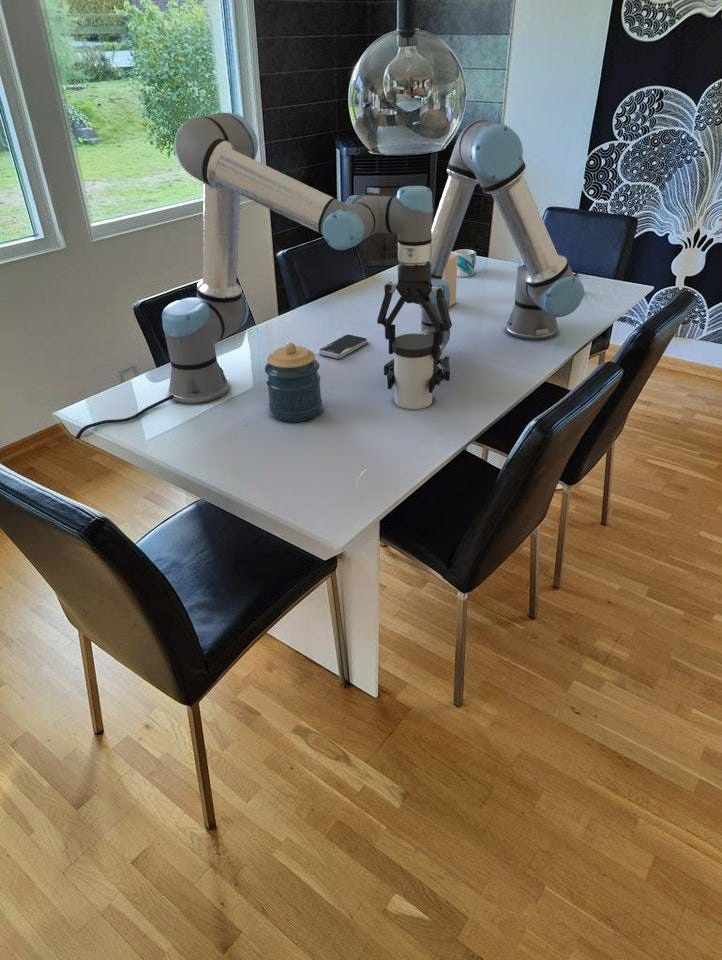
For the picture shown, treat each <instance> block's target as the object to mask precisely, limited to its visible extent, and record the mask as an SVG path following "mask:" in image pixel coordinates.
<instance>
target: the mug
mask: <svg viewBox="0 0 722 960" xmlns="http://www.w3.org/2000/svg"><path fill="white" fill-rule="evenodd" d="M453 254H456V255H458V258H457V277H460V278H465V277H466V278H467V277H472V276H474V274H475V266H476V264H477V251H475V250H473V249H467V248H464V249H457V250H454V252H453Z"/></svg>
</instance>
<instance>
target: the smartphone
mask: <svg viewBox="0 0 722 960" xmlns="http://www.w3.org/2000/svg"><path fill="white" fill-rule="evenodd" d="M366 344H368V338H367V337H362V336H357V335H352V334H345V335H343V336H341V337H340V338H337V339H336V340H334V341H332V342H330V343H328V344H326V345H324V346H322V347H321V348H319V349H318V354H319V355H321V356H324V357H329V358H333V359H336V360H337V359H339V360H340V359H342V358H344V357H345V356H347V355H349V354H351V353H353V352H354V351H356V350H357V349H360V348H362V347H363V346H365V345H366Z"/></svg>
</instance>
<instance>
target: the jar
mask: <svg viewBox="0 0 722 960" xmlns="http://www.w3.org/2000/svg"><path fill="white" fill-rule="evenodd" d="M393 359H394V384H393V386H394V403H395V405H396V406H398V407H400V408H403V409H407V410H421V409H424V408H427V407H429V406H431V405H432V403H433V392H432V393H429V382H430V380H431V377H432V375H433V353H432V354H431V355H428V356H425V357H418V358H409V357H402V356H399V355H397V354H395V353H394V352H393Z"/></svg>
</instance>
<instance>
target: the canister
mask: <svg viewBox="0 0 722 960" xmlns="http://www.w3.org/2000/svg"><path fill="white" fill-rule="evenodd" d="M266 360H267V364H265V367H264V372H265V373H266V375H267V378H266V382H265V383H266V385H267V393H268V400H269V402H268V406H269V410H270V413H271V415H272V417H273V418H275V419H276V420H279V421H282V422H288V423H289V422H290V423H296V422H297V423H298V422H304V421H308V420H311V419H313V418H315V417H317V416H318V415H319V414H320V413H321V411H322V408H323V399H322V392H321V376H320V374H319V372H318V370H319V369H320V363H319V361H318V360H317V359H316V354H315V352H313V351H312V350H309V349H308V348H306V347H304V346H299V345H296V344H294V343H293V342H287V343H286V344H285V346H283V347H279V348H277V349H275V350H274V351H273V352H272V353H270V354H269V355H268V356H267V359H266Z"/></svg>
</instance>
